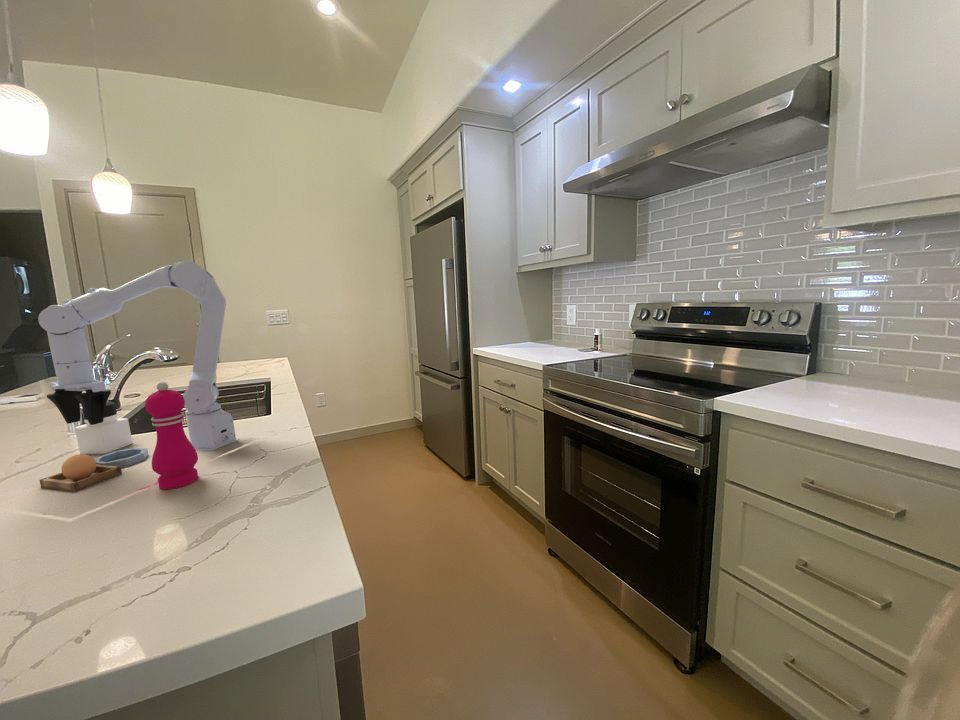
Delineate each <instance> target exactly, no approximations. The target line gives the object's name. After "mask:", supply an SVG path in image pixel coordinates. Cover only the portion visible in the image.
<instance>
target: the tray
mask: <svg viewBox="0 0 960 720" xmlns="http://www.w3.org/2000/svg"><path fill="white" fill-rule="evenodd" d="M122 474H123V472H122V467H117V466H107V465H98V464H96V469H95V471H94V472H93V473H92V474H91V475H90V476H88V477H87V478H84V479H81V480H71V479H68V478H66V477H65V476H64V475H63V474H62V471H61V472H58V473H56V474H52V475H50V476H46V477H44V478H41V479H39V485H40V488H43V489H44V488H45V489H50V490H59V491H67V492H74V493H75V492H76V493H77V492H78V491H80V490H83V489H86V488H89V487H92V486H93V485H96V484H99V483H103V482H104V481H107V480H110V479H113V478H115V477H118V476H120V475H122Z"/></svg>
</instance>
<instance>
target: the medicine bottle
mask: <svg viewBox="0 0 960 720" xmlns="http://www.w3.org/2000/svg"><path fill="white" fill-rule="evenodd" d="M116 406H117V405H116V403H115V402H112V401H107V402H106V406H105V411H104V419H103V422H102V423H98V424H94V425H90V424H89V422H88V420H87V417H86V414H85V411H84V409H83V407H82V409H81V412H82V417H83V423H84V424H82V425H79V426H76V427H75V428H74V431H75V436H76V442H77V446H78V451H79V454H85V455H93V454H94V455H95V454H96V455H97V454H104V455H106V454H109V453H112V452H115V451H117V450H118V449H121V448H124V447H126V446H129V445H132V444H133V437H132V433H131V428H130V422H129V419H128V418H126V417H125V418H122V417H121V418H118V411H117V407H116Z"/></svg>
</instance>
